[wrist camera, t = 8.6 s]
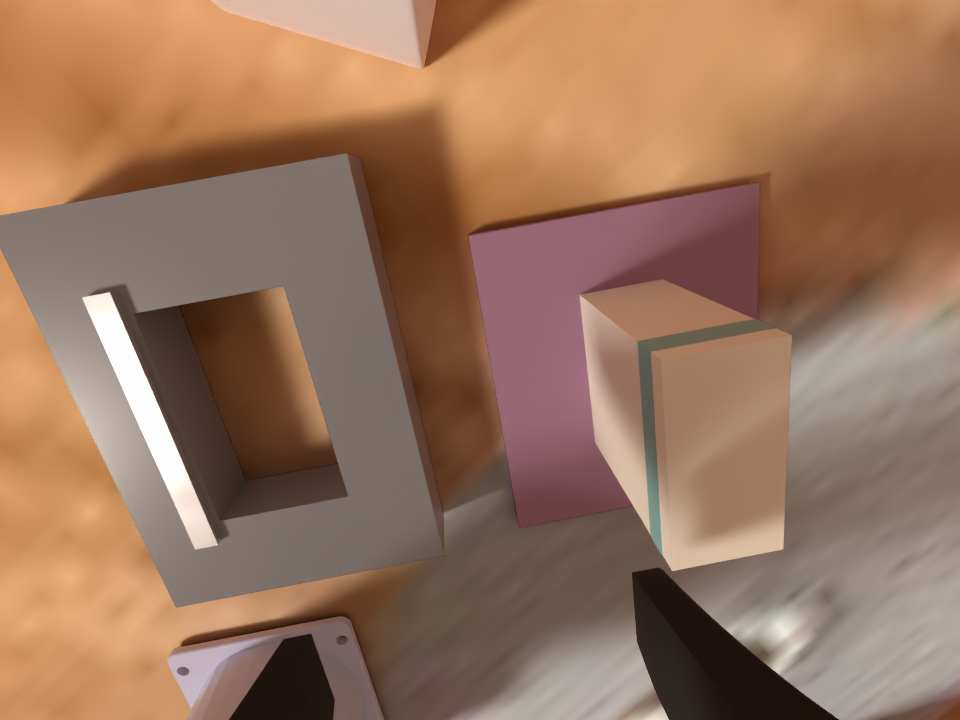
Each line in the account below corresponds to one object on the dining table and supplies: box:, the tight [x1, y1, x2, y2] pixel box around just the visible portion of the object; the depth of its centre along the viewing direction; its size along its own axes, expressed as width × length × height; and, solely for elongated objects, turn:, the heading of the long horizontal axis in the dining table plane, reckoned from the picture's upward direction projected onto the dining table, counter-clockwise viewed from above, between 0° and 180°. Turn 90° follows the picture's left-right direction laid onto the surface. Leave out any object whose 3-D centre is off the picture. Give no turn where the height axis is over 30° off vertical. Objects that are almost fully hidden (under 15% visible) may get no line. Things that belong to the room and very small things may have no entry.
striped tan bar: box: [579, 279, 792, 571], centre depth 16 cm, size 6×3×7 cm, turn 10°
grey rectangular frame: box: [0, 153, 444, 607], centre depth 17 cm, size 14×10×3 cm
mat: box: [468, 183, 760, 528], centre depth 19 cm, size 12×10×1 cm
